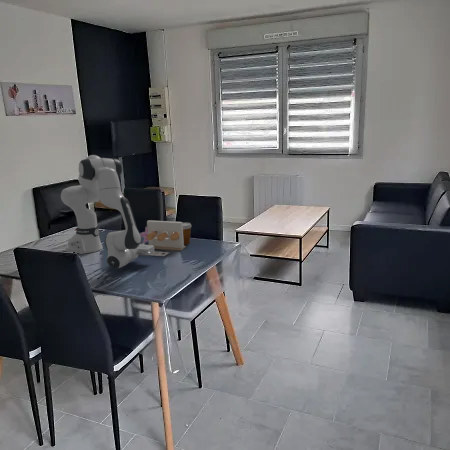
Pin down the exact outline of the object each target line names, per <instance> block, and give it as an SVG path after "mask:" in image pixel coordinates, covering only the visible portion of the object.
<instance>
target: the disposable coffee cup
mask: <svg viewBox="0 0 450 450" xmlns="http://www.w3.org/2000/svg"><path fill="white" fill-rule="evenodd" d="M182 224H183V240H184V246H186V245H189V244H190V243H191V229H192V224H191V222H182Z"/></svg>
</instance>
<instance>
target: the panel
mask: <svg viewBox="0 0 450 450" xmlns="http://www.w3.org/2000/svg"><path fill="white" fill-rule="evenodd" d="M182 223H183V222H182V221H170V220H169V221H167V220H165V221H164V220H150V219H149V220H147V221H146V227H147V228H148V234H150V233H152V231H155V232H156V233H157V236H158V235H160V234H162V233H163V232H166V233H167V234H168V237H167V238H165V239H164V240H162V241H159V240H158V239H157V237H155V238H153V239H152V240H149V241H148V245H153V246H154V250H165V251H178V252H179V251H181V252H182V251H183V250H184V249H185V248H187V247H186V245H184V240H183V224H182ZM175 232H179V238H177V239H176V240H171V238H170V236H171V235H172V234H174V233H175Z"/></svg>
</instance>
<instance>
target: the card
mask: <svg viewBox="0 0 450 450" xmlns="http://www.w3.org/2000/svg"><path fill="white" fill-rule="evenodd" d="M169 254H170V252H168V251H157V250H156V251H154V252H153V253H151V254H149V255H148V256H154V257H155V256H156V257H165V256H166V255H169Z"/></svg>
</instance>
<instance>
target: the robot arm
mask: <svg viewBox="0 0 450 450" xmlns="http://www.w3.org/2000/svg"><path fill="white" fill-rule="evenodd" d="M122 172H123V166H122V163H121V161H120V160H119V159H118V158H112V157H111V158H108V157H107V158H106V157H100V156H98V155H96V154H91V155H88V156H86V158H84V159H81V160H80V162H79V164H78V173H79V174H78V182H79V185H72V186H71V185H70V186H68V187H66V188H63V189H62V191H61V193H60V199H61V202H63V204H64V205H65V206H67V207H69V208H70V209H71V210H72V211H73V212H74V215H75V218H76V224H77V227H76V228H75V229H74V230H73V231H76V232H75V234H74V235H73V236H72V237H70V238H69V239H68V242H67V247H65V248H64V252H67V253H72V252H75V253H74V254H77V253H79V255H84V254H89V253H95V252H100V251H101V250H103V245H102V242H101V239H100V229H99V225H98V219H97V213H96V212H95V211H94V210H92V209H90V208H87V206H86V205H87V204H92V203H97V202H99V201H100V203H101V204H102V205H104V206H105V207H108V208H110V209H115V210H117V211H118V212H120V214H121V216H122V220H123V223H124V227H125V229H122V230H116V231H110V232H108V233H107V234H106V236H105V238H104V246H105V250H106V251H107V257H106V262H107V265H108V266H109V267H111V268H112V269H120V268H123V267H124V266H127V265H128V264H129V263H130V262H132V261H135V260H137V258H138V256H150V255H149V254H151V253H153V252H154V251H155V250H156V249H154V246H153V245H149V244H146V242H145V243H143V242H142V237H141V235H140V233H141V232H140V231H139V228H138V227H137V224H136V219H135V216H134V213H133V209H132V206H131V204H130V201H129V200H128V198H127V197H125V196H124V194H123V192H122V186H121V182H120V179H119V177H121V175H122V174H123V173H122Z"/></svg>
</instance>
